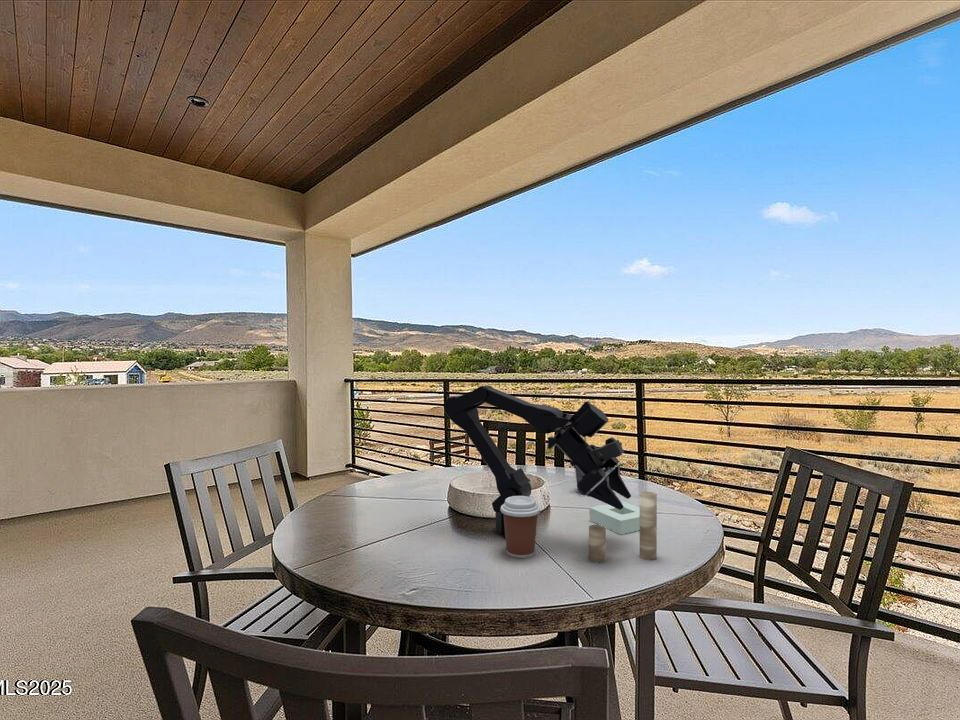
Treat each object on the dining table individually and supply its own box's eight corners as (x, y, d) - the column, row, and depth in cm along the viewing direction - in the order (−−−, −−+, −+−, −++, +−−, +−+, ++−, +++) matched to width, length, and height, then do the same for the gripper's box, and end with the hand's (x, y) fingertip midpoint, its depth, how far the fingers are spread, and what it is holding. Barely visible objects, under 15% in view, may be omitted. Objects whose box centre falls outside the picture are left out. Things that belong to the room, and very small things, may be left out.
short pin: (596, 563, 107) (596, 531, 107) (585, 557, 110) (585, 526, 110) (609, 560, 108) (609, 528, 108) (598, 554, 111) (598, 523, 111)
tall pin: (648, 561, 108) (648, 496, 108) (636, 555, 111) (636, 492, 111) (660, 557, 110) (660, 494, 109) (648, 552, 113) (648, 490, 113)
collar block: (620, 534, 124) (620, 520, 124) (589, 520, 135) (589, 507, 134) (656, 527, 129) (656, 513, 129) (623, 514, 140) (623, 501, 140)
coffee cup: (493, 548, 115) (493, 497, 115) (528, 542, 119) (527, 492, 119) (512, 563, 107) (512, 508, 107) (548, 556, 111) (548, 502, 111)
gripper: (591, 433, 106) (645, 490, 102) (610, 422, 123) (657, 471, 118) (556, 466, 110) (607, 523, 105) (579, 452, 127) (624, 500, 122)
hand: (626, 502), depth 112 cm, fingers open, 9 cm apart
